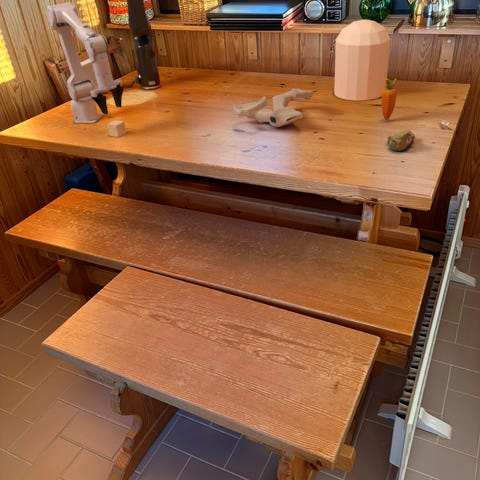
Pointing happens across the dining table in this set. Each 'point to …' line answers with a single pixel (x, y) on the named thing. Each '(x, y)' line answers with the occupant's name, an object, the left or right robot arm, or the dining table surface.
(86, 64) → the skincare box
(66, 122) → the dining table surface
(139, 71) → the right robot arm
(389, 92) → the carrot
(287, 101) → the animal horns
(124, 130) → the pale beige block
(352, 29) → the container
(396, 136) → the rock
